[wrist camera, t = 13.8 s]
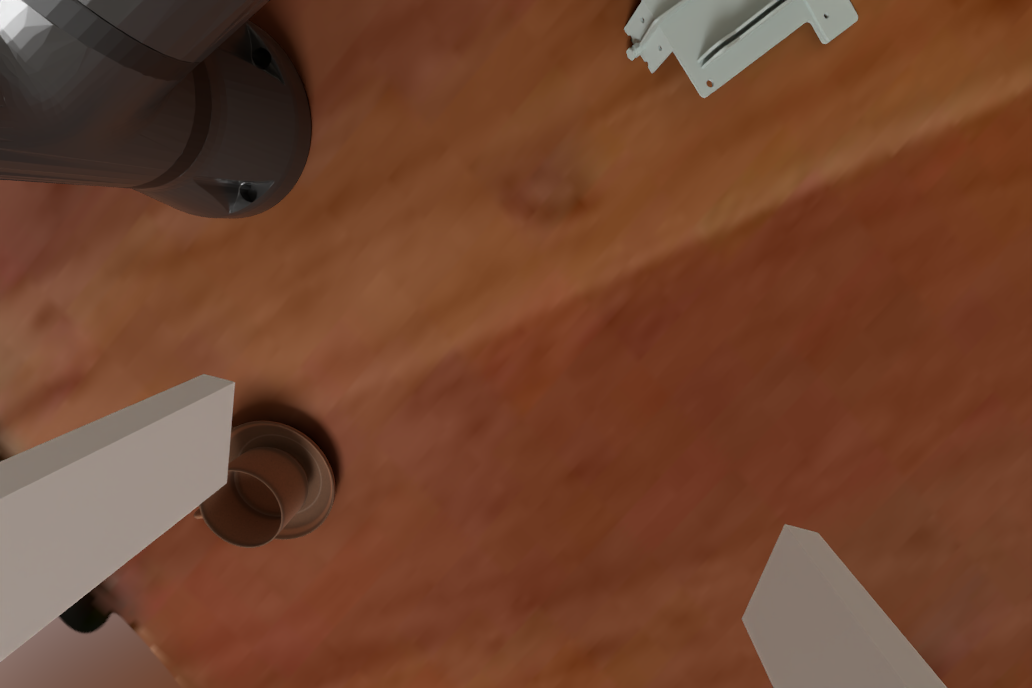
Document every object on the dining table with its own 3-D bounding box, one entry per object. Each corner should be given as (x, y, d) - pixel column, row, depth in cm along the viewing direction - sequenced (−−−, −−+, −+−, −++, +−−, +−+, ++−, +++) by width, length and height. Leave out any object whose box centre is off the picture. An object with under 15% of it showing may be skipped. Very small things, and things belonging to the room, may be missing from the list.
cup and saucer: (284, 547, 47) (243, 594, 41) (198, 458, 46) (143, 494, 40) (368, 485, 45) (338, 525, 39) (281, 388, 43) (235, 415, 37)
